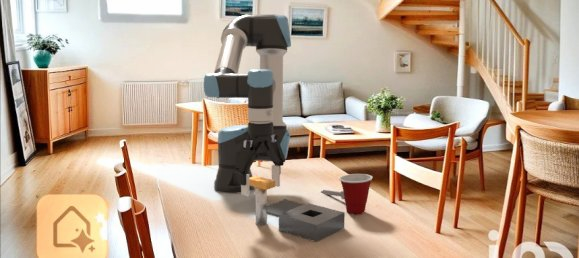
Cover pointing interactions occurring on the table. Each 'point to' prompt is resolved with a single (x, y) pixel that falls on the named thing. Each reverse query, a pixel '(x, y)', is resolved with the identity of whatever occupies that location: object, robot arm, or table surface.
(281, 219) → the block
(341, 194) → the caliper
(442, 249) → the table surface
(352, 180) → the plastic cup
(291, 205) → the key mat
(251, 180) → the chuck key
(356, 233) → the table surface
